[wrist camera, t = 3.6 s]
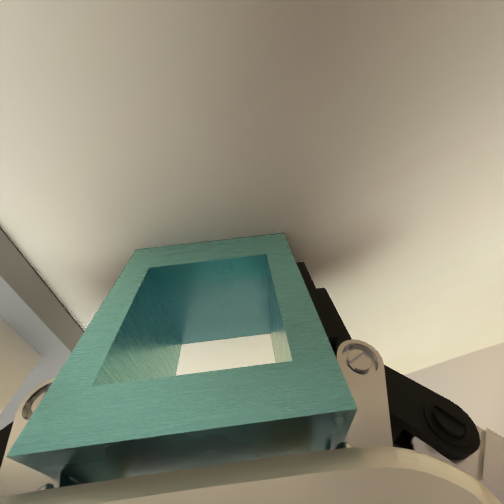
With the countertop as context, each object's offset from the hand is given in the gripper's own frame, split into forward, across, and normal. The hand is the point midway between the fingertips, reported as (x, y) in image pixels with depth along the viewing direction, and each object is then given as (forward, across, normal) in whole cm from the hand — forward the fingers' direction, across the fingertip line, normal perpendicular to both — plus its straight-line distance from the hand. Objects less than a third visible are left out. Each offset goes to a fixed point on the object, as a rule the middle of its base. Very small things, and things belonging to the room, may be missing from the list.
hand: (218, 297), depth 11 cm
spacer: (+1, 0, 0) cm, 1 cm away
